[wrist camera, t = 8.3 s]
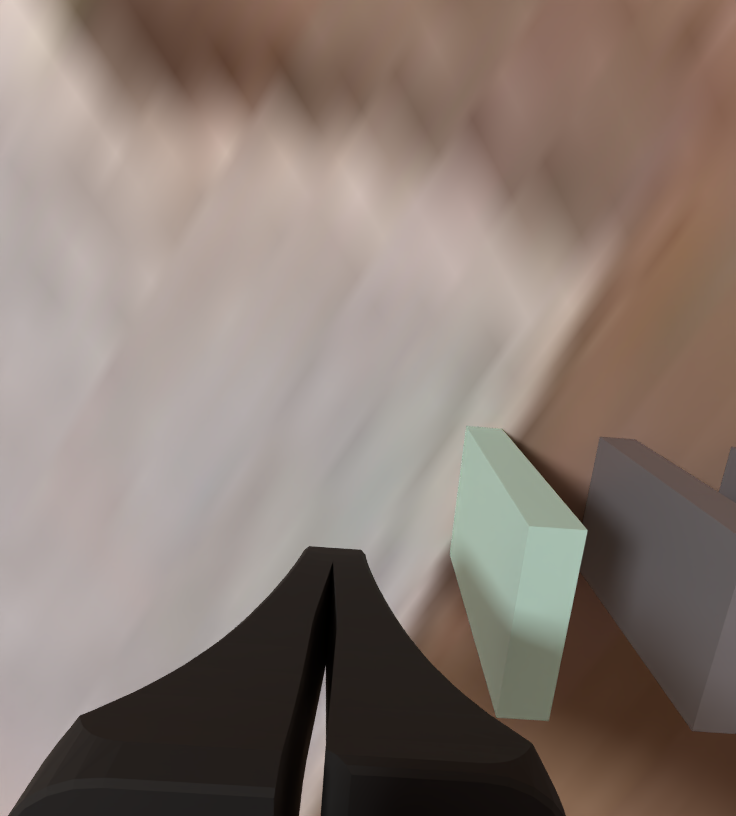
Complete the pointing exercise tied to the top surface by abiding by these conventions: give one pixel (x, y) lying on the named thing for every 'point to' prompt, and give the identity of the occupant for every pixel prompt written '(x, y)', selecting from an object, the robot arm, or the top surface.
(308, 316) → the top surface
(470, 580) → the green domino
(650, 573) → the domino
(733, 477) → the domino
